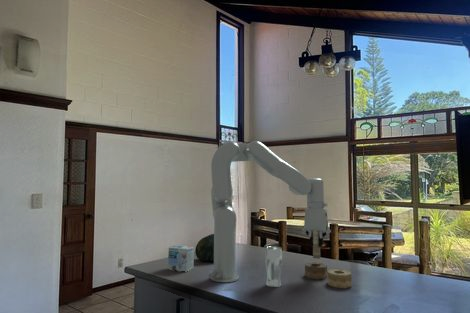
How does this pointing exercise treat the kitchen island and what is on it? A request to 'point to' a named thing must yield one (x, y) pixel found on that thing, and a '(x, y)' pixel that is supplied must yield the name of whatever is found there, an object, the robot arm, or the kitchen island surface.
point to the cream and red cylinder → (316, 244)
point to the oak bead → (339, 278)
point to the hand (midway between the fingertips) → (316, 246)
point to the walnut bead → (316, 270)
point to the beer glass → (273, 265)
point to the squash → (205, 248)
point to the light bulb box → (181, 258)
